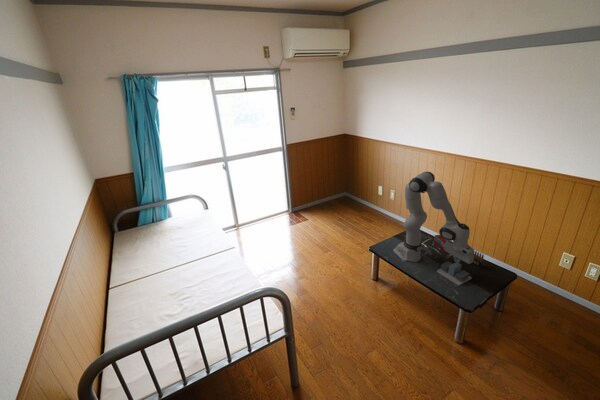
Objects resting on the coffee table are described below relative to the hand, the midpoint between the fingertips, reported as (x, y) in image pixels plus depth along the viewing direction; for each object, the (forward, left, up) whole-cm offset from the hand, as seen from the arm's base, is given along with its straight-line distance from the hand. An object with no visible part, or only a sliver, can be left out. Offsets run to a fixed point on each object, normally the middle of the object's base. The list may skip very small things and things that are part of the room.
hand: (456, 261), depth 201 cm
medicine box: (-28, +24, -13) cm, 39 cm away
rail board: (0, 0, -12) cm, 12 cm away
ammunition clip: (0, +24, -12) cm, 27 cm away
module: (0, 0, -10) cm, 10 cm away
